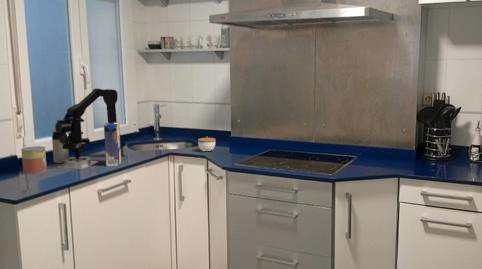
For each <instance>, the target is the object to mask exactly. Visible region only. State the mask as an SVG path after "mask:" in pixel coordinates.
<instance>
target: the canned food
mask: <svg viewBox="0 0 482 269" xmlns="http://www.w3.org/2000/svg"><path fill="white" fill-rule="evenodd" d="M20 150H21V157H22V158H21V162H22V170H23V171H22V173H23V174H26V175H36V174H42V173H46V172H47V171H48V169H47V168H48V167H47V157H46V153H47V152H46V147H45V146H41V145H40V146H35V145H34V146H27V147H23V148H21V149H20Z"/></svg>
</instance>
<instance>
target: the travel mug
mask: <svg viewBox="0 0 482 269" xmlns="http://www.w3.org/2000/svg"><path fill="white" fill-rule="evenodd" d="M51 132H52V136H51V141H52V154H53V163H55V164H64V160H65V159H67V158H70V157H69V149H63V146H62V145H63V144H62V143H60V142H59V137H61V136H64V137H67V136H68V133H67V132H64V133H57V132H56V129H53V130H52V131H51ZM64 144H65V143H64Z"/></svg>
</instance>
